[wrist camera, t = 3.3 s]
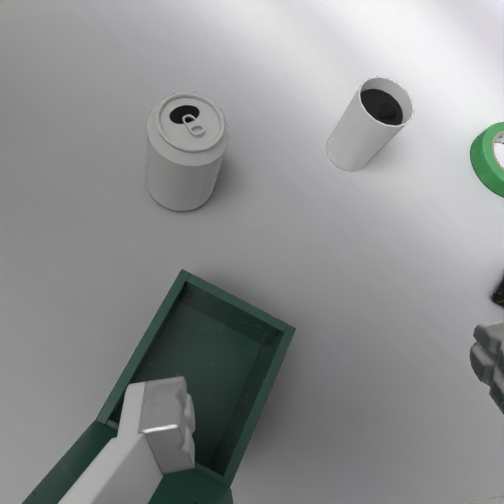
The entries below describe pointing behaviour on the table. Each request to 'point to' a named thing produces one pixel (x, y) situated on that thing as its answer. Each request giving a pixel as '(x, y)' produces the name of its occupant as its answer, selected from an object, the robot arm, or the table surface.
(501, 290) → the tape measure
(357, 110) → the white cup
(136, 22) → the table surface
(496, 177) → the tape roll
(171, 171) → the can
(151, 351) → the tin
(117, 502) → the robot arm
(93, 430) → the tin lid
